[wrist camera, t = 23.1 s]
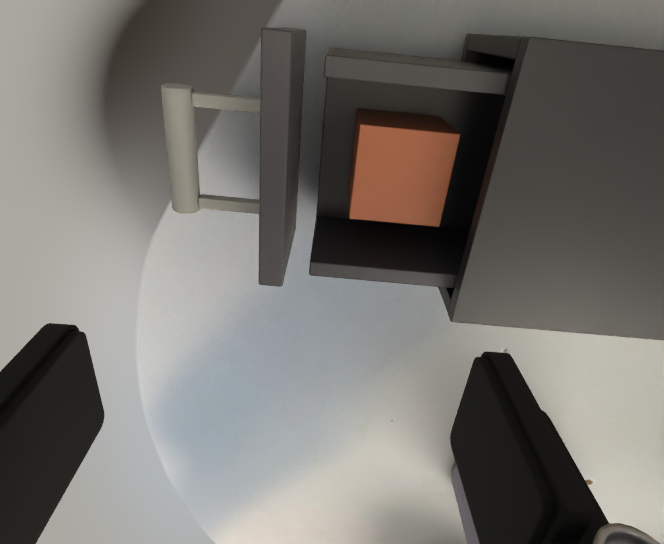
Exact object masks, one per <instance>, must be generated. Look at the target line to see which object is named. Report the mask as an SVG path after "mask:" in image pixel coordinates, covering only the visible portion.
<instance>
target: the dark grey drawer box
mask: <svg viewBox="0 0 664 544" xmlns="http://www.w3.org/2000/svg"><path fill="white" fill-rule="evenodd" d="M461 61H465V62H474V63H484V64H494V65H504V66H513V67H514V68H513V71H512V75H511V79H510V83H509V86H508V90H507V94H506V97H505V101H504V105H503V109H502V112H501V116H500V120H499V124H498V127H497V131H496V135H495V138H494V142H493V146H492V150H491V153H490V157H489V161H488V165H487V168H486V172H485V176H484V179H483V183H482V187H481V191H480V194H479V198H478V202H477V206H476V209H475V213H474V217H473V220H472V224H471V228H470V232H469V235H468V239H467V243H466V247H465V250H464V254H463V258H462V261H461V265H460V269H459V273H458V276H457V280H456V284H455V288H447V287H439V290H440V293H441V295H442V298H443V301H444V304H445V306H446V309H447V312H448V315H449V318H450V321H451V322H459V323H471V324H482V325H494V326H505V327H517V328H528V329H540V330H551V331H563V332H574V333H585V334H597V335H608V336H620V337H631V338H643V339H654V340H664V51H661V50H652V49H642V48H633V47H623V46H613V45H604V44H594V43H585V42H575V41H566V40H556V39H547V38H537V37H525V36H504V35H485V34H467V35H466V39H465V44H464V48H463V53H462V58H461Z"/></svg>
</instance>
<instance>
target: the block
mask: <svg viewBox="0 0 664 544" xmlns="http://www.w3.org/2000/svg"><path fill="white" fill-rule="evenodd" d="M459 139H460V133H458V132H457V131H456V130H455V129H454V128H453V127H452V126H451V125H450V124H448V123H447V122H446V121H445V120H444V119H443V118H442V117H441V116H434V115H424V114H414V113H404V112H394V111H384V110H374V109H364V108H357V113H356V122H355V131H354V139H353V148H352V157H351V166H350V175H349V184H348V205H349V218H350V219H360V220H371V221H382V222H392V223H403V224H414V225H425V226H435V227H439V226H440V222H441V217H442V213H443V209H444V204H445V200H446V196H447V191H448V187H449V183H450V178H451V174H452V170H453V165H454V161H455V157H456V152H457V148H458V144H459Z"/></svg>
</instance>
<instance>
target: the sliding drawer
mask: <svg viewBox="0 0 664 544" xmlns="http://www.w3.org/2000/svg"><path fill="white" fill-rule="evenodd" d="M305 46H306V30H303V29H294V28H262V29H261V98H258V97H248V96H238V95H228V94H218V93H208V92H198V91H195V92H194V90H193V87H192V86H190V85H185V84H163V85H161V92H162V103H163V113H164V123H165V135H166V145H167V155H168V166H169V177H170V188H171V198H172V208H173V210H174V211H175V212H178V213H194V212H197V211H199V210H200V208H201V209H212V210H223V211H234V212H245V213H255V214H259V284H260V285H268V286H280V287H281V286H282V285H283V280H284V276H285V272H286V268H287V263H288V259H289V255H290V250H291V246H292V242H293V238H294V233H295V229H296V212H297V194H298V175H299V157H300V138H301V120H302V102H303V83H304V65H305ZM513 68H514V67H513V66H504V65H494V64H484V63H474V62H465V61H455V60H445V59H436V58H426V57H416V56H407V55H397V54H387V53H377V52H368V51H358V50H348V49H339V48H330V49H329V51H328V52H327V54H326V56H325V69H324V76H325V77H327V87H326V100H325V113H324V125H323V138H322V151H321V164H320V176H319V189H318V202H317V214H316V223H315V230H314V237H313V244H312V252H311V259H310V269H309V274H310V275H313V276H324V277H335V278H346V279H357V280H369V281H380V282H391V283H402V284H413V285H425V286H436V287H447V288H455V284H456V280H457V276H458V273H459V269H460V265H461V261H462V258H463V254H464V250H465V247H466V243H467V239H468V235H469V232H470V228H471V224H472V220H473V217H474V213H475V209H476V206H477V202H478V198H479V194H480V191H481V187H482V183H483V179H484V176H485V172H486V168H487V165H488V161H489V157H490V153H491V150H492V146H493V142H494V138H495V135H496V131H497V127H498V124H499V120H500V116H501V112H502V109H503V105H504V101H505V97H506V94H507V90H508V86H509V83H510V79H511V75H512V71H513ZM195 107H204V108H214V109H224V110H234V111H244V112H255V113H260V200H257V199H246V198H235V197H225V196H214V195H203V194H202V195H200V189H199V172H198V156H197V142H196V125H195V124H196V123H195ZM357 108H364V109H374V110H384V111H394V112H404V113H414V114H424V115H434V116H441V117H442V118H443V119H444V120H445V121H446V122H447V123H448V124H450V125H451V126H452V127H453V128H454V129H455V130H456V131H457V132H458V133H460V139H459V144H458V148H457V152H456V157H455V161H454V165H453V170H452V174H451V178H450V183H449V187H448V191H447V196H446V200H445V204H444V209H443V213H442V217H441V222H440V226H439V227H435V226H425V225H414V224H403V223H392V222H382V221H371V220H360V219H350V218H349V205H348V184H349V175H350V166H351V157H352V148H353V139H354V131H355V122H356V113H357Z"/></svg>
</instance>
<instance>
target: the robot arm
mask: <svg viewBox="0 0 664 544" xmlns="http://www.w3.org/2000/svg"><path fill="white" fill-rule="evenodd" d="M103 421H104V410H103V406H102V401H101V397H100V393H99V389H98V385H97V380H96V376H95V372H94V368H93V363H92V359H91V356H90V351H89V347H88V342H87V339H86V335H85V333H84V332H79V329H78V328H77V326H75V325H67V324H51V323H49V324H46V325H45V326H44V327H42V328H41V329H40V331H39V332H38V333H37V334H36V335H35V336H34V337H33V338H32V339H31V340H30V341H29V342H28V343H27V344H26V345H25V346H24V347H23V349H21V351H20V352H19V353H18V354H17V355H16V356H15V357H14V358H13V359H12V360H11V361H10V362H9V363H8V364H7V365H6V366H5V367H4V368H3V369H2V371H1V372H0V544H36V542H37V540H38V538H39V537H40V535H41V533H42V531H43V530H44V528H45V526H46V524H47V523H48V521H49V519H50V517H51V516H52V514H53V512H54V510H55V508H56V507H57V505H58V503H59V501H60V500H61V498H62V496H63V494H64V493H65V491H66V489H67V487H68V486H69V484H70V482H71V480H72V478H73V477H74V475H75V473H76V471H77V469H78V468H79V466H80V464H81V463H82V461H83V459H84V457H85V456H86V454H87V452H88V450H89V448H90V447H91V445H92V443H93V441H94V440H95V438H96V436H97V434H98V433H99V431H100V429H101V427H102V424H103ZM450 441H451V447H452V451H453V454H454V458H455V461H456V465H457V468H458V472H459V475H460V478H461V482H462V485H463V489H464V492H465V496H466V499H467V502H468V506H469V509H470V513H471V516H472V520H473V523H474V526H475V530H476V533H477V537H478V540H479V544H660V543H659V542H657V541H656V540H655V539H653V538H652V537H650V536H649V535H648V534H646V533H644V532H642V531H640V530H638V529H636V528H634V527H632V526H628V525H624V524H620V523H614V524H609V522H608V521H607V519H606V517H605V515H604V514H603V512H602V510H601V508H600V506H599V505H598V503H597V501H596V499H595V498H594V496H593V494H592V492H591V491H590V489H589V487H588V485H587V483H586V482H585V480H584V478H583V476H582V475H581V473H580V471H579V469H578V467H577V466H576V464H575V462H574V460H573V459H572V457H571V455H570V453H569V452H568V450H567V448H566V446H565V444H564V443H563V441H562V439H561V437H560V436H559V434H558V432H557V430H556V428H555V427H554V425H553V423H552V421H551V420H550V418H549V417H548V415H547V414H546V413H545V412H544V411H542V410H541V409H540V407H539V405H538V403H537V402H536V400H535V398H534V396H533V394H532V393H531V391H530V389H529V387H528V385H527V384H526V382H525V380H524V378H523V376H522V374H521V373H520V371H519V369H518V367H517V365H516V364H515V362H514V360H513V358H512V357H511V355H510V354H508V353H498V352H484V353H483V354H482V355H481V357H476V358H475V359H474V361H473V365H472V368H471V371H470V374H469V377H468V380H467V383H466V386H465V390H464V393H463V396H462V399H461V402H460V405H459V408H458V411H457V415H456V418H455V421H454V424H453V427H452V430H451V436H450Z"/></svg>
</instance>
